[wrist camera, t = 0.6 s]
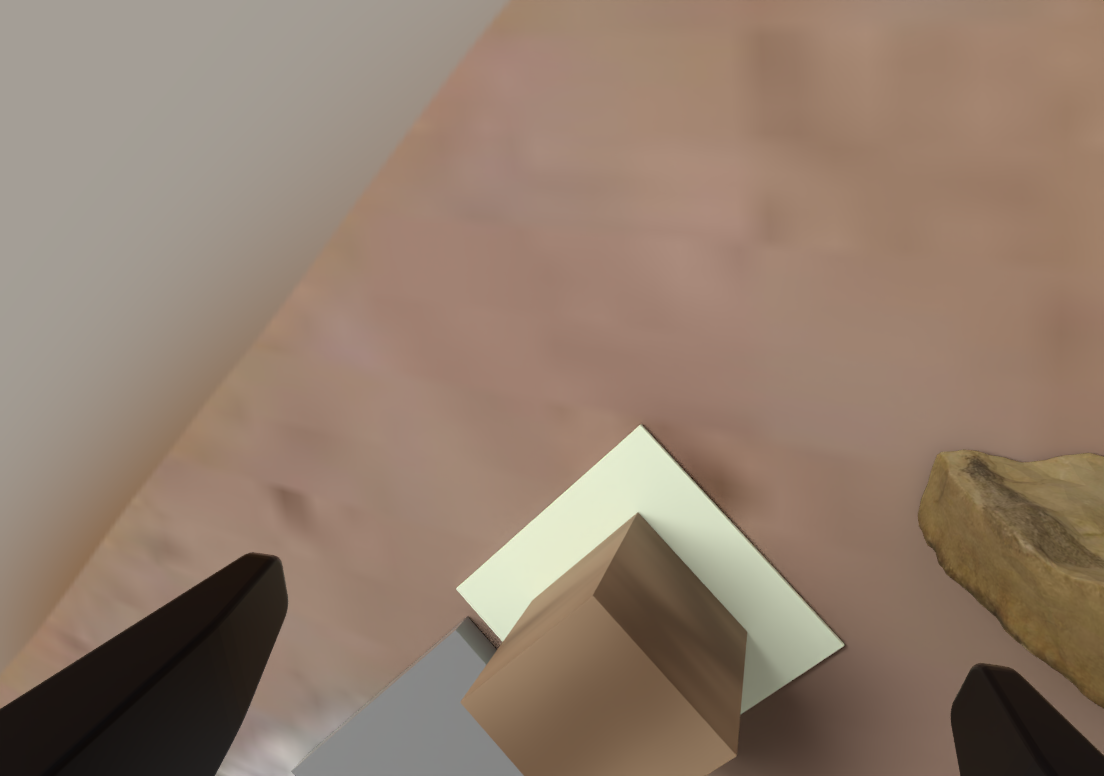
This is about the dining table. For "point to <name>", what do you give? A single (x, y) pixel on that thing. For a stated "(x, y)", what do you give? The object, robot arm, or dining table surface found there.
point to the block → (617, 669)
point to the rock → (1027, 551)
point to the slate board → (418, 721)
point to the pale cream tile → (690, 531)
